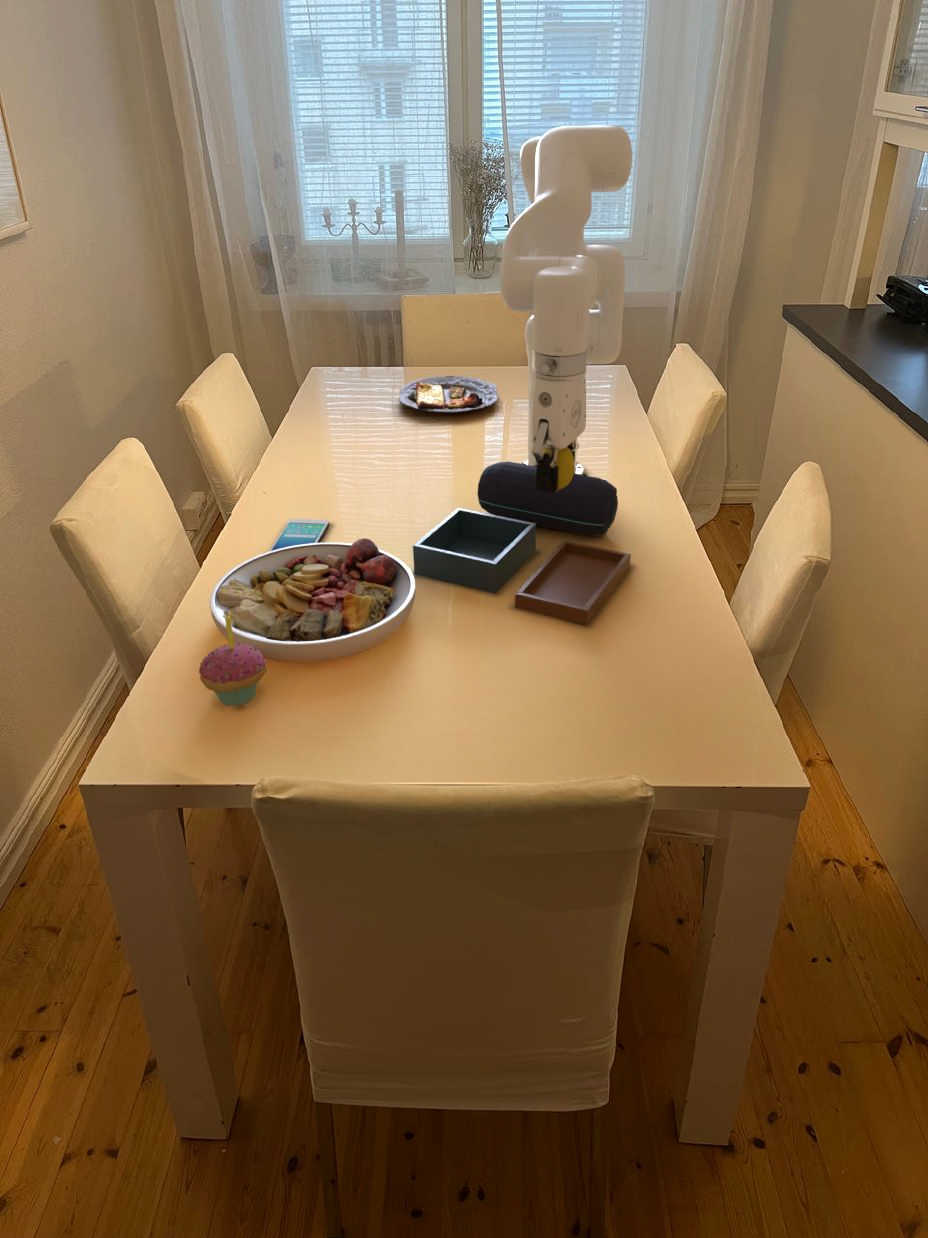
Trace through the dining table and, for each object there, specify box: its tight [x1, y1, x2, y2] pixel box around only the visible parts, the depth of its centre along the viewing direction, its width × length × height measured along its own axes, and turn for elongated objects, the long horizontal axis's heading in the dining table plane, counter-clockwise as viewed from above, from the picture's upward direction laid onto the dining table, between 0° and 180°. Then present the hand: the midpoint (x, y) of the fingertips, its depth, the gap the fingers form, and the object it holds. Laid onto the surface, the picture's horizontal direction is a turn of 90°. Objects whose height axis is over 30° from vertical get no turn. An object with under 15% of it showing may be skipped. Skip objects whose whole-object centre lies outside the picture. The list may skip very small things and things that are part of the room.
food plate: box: [398, 375, 498, 414], centre depth 221 cm, size 25×23×4 cm
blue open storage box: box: [412, 507, 537, 595], centre depth 152 cm, size 16×15×5 cm
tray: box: [514, 540, 632, 626], centre depth 145 cm, size 20×12×2 cm, turn 153°
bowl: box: [209, 537, 417, 664], centre depth 137 cm, size 30×30×8 cm
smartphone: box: [268, 518, 330, 552], centre depth 160 cm, size 8×1×15 cm
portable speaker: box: [476, 461, 619, 537], centre depth 162 cm, size 25×10×10 cm, turn 62°
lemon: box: [545, 443, 575, 492], centre depth 137 cm, size 6×6×8 cm
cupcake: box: [198, 610, 268, 707], centre depth 120 cm, size 9×8×12 cm
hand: (555, 481), depth 139 cm, fingers closed on lemon, 5 cm apart
